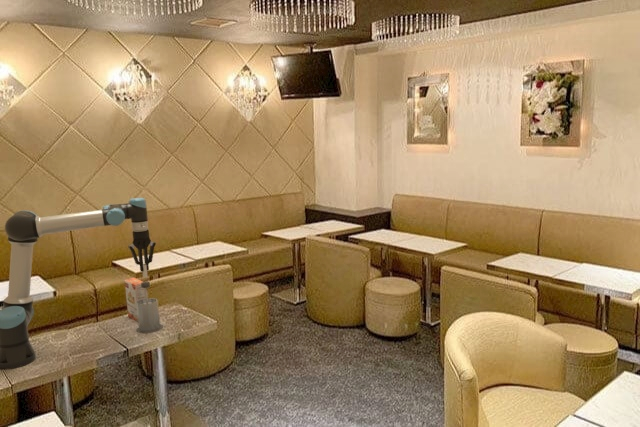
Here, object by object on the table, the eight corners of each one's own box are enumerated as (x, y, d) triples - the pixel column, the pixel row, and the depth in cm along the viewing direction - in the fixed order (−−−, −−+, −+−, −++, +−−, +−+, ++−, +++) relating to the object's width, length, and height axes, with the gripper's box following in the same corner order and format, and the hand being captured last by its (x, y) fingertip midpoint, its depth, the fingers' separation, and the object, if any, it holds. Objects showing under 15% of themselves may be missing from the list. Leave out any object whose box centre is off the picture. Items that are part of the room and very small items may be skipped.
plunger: (142, 309, 256) (140, 285, 254) (138, 305, 262) (136, 282, 260) (156, 306, 260) (154, 282, 258) (152, 302, 266) (150, 279, 264)
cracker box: (127, 317, 282) (123, 279, 279) (138, 314, 286) (134, 277, 283) (138, 323, 272) (134, 284, 269) (149, 320, 276) (145, 282, 273)
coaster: (140, 337, 254) (140, 335, 254) (132, 329, 265) (132, 327, 264) (166, 330, 261) (166, 329, 261) (158, 323, 272) (158, 321, 272)
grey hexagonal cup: (142, 333, 256) (139, 306, 254) (136, 327, 264) (134, 301, 262) (162, 328, 261) (160, 301, 259) (156, 323, 269) (153, 296, 267)
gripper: (128, 233, 248) (133, 281, 252) (156, 229, 255) (160, 276, 259) (124, 230, 254) (129, 278, 258) (151, 227, 261) (156, 273, 265)
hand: (145, 277), depth 259 cm, fingers closed
